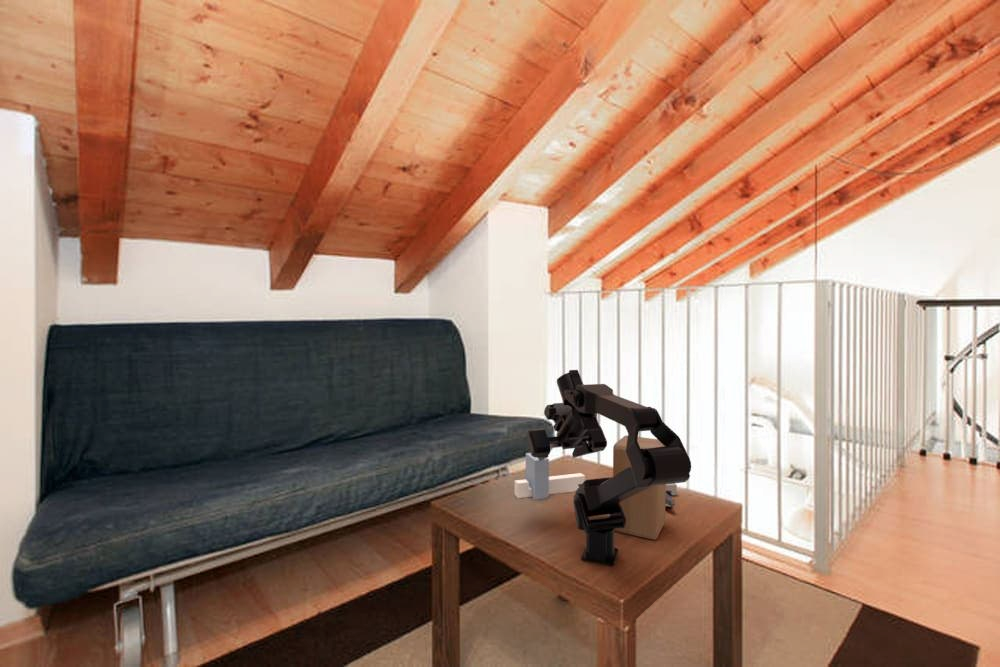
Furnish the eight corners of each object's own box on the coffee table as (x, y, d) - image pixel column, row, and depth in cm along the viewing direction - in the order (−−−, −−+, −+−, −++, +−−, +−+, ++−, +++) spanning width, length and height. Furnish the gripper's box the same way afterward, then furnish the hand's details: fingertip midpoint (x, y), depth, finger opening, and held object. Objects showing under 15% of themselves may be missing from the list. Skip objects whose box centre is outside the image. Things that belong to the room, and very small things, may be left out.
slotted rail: (584, 490, 129) (585, 475, 129) (517, 498, 123) (517, 483, 123) (580, 486, 131) (581, 473, 131) (514, 495, 125) (514, 480, 125)
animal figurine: (645, 502, 124) (644, 482, 124) (661, 501, 124) (660, 482, 125) (664, 513, 112) (663, 491, 113) (682, 512, 112) (680, 490, 113)
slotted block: (548, 498, 123) (548, 459, 123) (534, 499, 122) (534, 460, 121) (538, 488, 130) (539, 452, 129) (525, 490, 128) (525, 453, 128)
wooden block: (623, 515, 113) (623, 433, 112) (665, 524, 108) (667, 439, 107) (611, 531, 104) (612, 443, 103) (657, 542, 99) (658, 450, 98)
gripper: (601, 391, 111) (579, 426, 122) (529, 395, 105) (513, 432, 116) (619, 432, 104) (594, 465, 115) (542, 438, 98) (524, 472, 109)
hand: (556, 457), depth 114 cm, fingers open, 9 cm apart
